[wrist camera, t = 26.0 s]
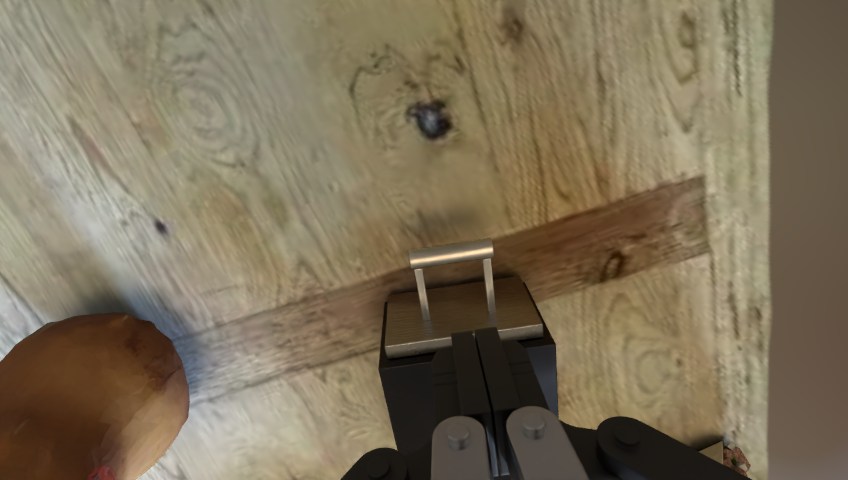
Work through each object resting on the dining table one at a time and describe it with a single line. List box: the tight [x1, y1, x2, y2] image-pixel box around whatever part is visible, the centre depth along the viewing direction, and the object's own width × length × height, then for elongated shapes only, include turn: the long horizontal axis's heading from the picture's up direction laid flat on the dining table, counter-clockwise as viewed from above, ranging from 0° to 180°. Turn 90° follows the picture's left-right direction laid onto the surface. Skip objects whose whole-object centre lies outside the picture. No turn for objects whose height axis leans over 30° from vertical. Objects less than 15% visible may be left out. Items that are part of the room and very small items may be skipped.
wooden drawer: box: [385, 238, 543, 359], centre depth 37 cm, size 19×11×7 cm, turn 8°
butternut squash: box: [0, 313, 190, 480], centre depth 30 cm, size 14×13×25 cm
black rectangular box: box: [379, 282, 558, 480], centre depth 39 cm, size 15×13×9 cm
